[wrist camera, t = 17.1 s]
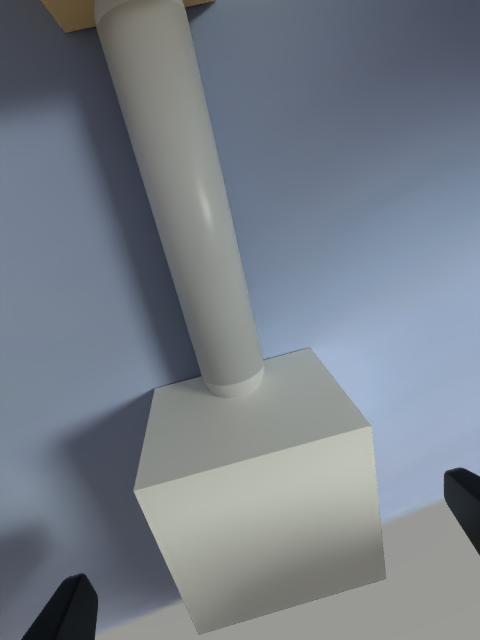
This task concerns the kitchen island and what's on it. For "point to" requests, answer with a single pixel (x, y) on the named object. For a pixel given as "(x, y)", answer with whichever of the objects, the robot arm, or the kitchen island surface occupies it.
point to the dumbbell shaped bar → (229, 369)
